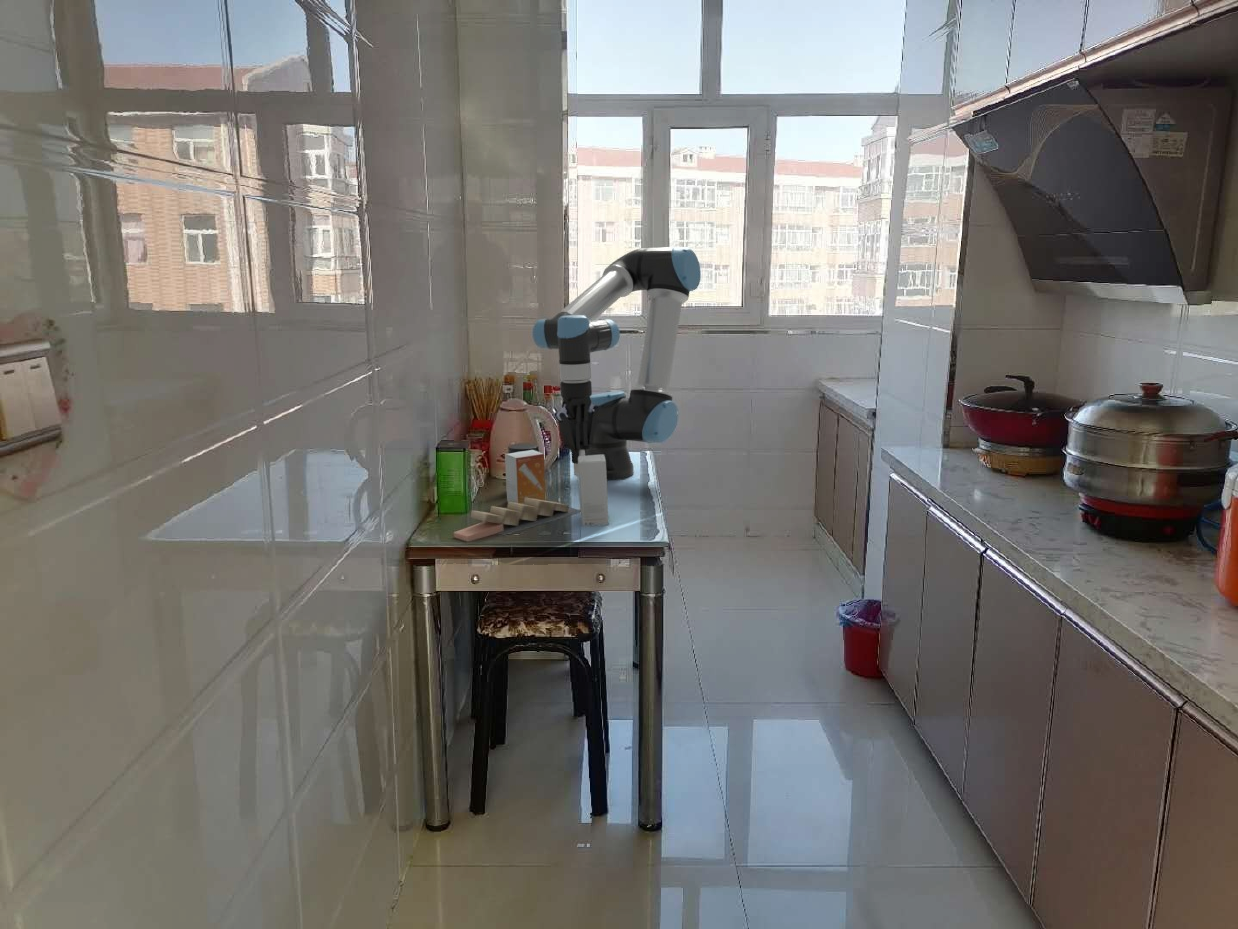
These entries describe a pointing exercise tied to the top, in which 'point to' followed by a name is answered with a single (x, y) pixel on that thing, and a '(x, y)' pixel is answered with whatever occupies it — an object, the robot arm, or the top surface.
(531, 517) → the domino
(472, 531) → the domino
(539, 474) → the small box
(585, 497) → the skincare box
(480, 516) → the domino
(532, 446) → the jar
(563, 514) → the mat
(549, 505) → the domino
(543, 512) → the domino
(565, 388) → the robot arm
